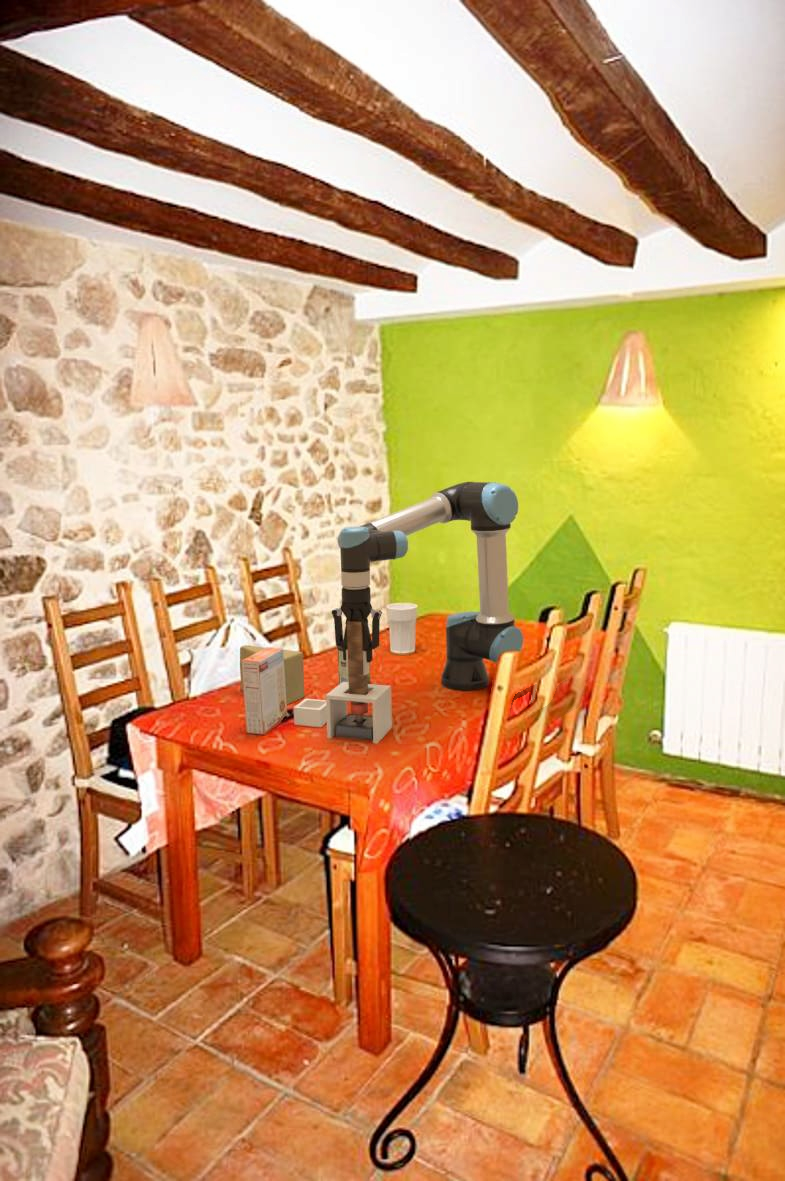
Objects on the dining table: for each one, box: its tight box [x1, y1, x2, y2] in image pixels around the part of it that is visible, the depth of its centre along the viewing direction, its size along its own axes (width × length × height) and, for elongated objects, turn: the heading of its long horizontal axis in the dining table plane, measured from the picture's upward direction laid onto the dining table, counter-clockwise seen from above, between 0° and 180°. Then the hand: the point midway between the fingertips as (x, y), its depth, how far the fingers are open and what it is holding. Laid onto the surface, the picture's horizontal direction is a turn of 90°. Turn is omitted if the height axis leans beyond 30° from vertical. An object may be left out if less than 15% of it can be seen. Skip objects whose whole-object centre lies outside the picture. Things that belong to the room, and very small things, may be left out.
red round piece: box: [350, 702, 369, 723], centre depth 216 cm, size 5×5×6 cm
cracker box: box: [241, 646, 288, 736], centre depth 222 cm, size 14×6×21 cm, turn 160°
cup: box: [386, 602, 418, 656], centre depth 295 cm, size 11×11×17 cm
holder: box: [293, 698, 327, 728], centre depth 226 cm, size 8×8×5 cm
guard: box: [325, 682, 393, 745], centre depth 216 cm, size 14×12×12 cm
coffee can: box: [336, 646, 371, 685], centre depth 255 cm, size 10×10×14 cm
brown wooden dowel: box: [347, 621, 369, 703], centre depth 213 cm, size 4×4×22 cm
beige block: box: [239, 644, 305, 705], centre depth 248 cm, size 22×10×15 cm, turn 57°
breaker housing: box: [335, 712, 373, 742], centre depth 217 cm, size 10×9×4 cm
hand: (358, 672), depth 214 cm, fingers closed on brown wooden dowel, 4 cm apart
